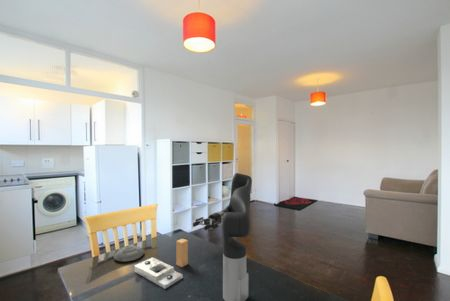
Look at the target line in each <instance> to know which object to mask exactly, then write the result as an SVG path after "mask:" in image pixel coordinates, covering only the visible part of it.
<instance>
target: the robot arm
mask: <svg viewBox="0 0 450 301" xmlns="http://www.w3.org/2000/svg"><path fill="white" fill-rule="evenodd" d="M252 183H253V180H252V177H251V176H250V175H247V174H243V173H239V172H237V173H236V172H235V173H234V175H233V176H232V181H231V185H230V187H231V188H230V199H229V203H228V205H227V206H225V208H224V209H223V210H220V211H217V212H213V213H211V214H209V216H208V217H205V218H204V216H201V217H198V218H196V219H195V221H193V223H192V227H194V228H195V227H197V226H204V228H203V230H204V231H208V230H209V229H210V230H211V229H213V230H216V229H217V228H219V227H220V226H221V227H222V230H221V231H222V299H223V300H224V301H246V300H247V299H248V298H249V272H247V247H246V245H245V244H244V243H242V242H240V241H239V240H237V239H235V238H247V237H248V236H249V235H250V232H251V214H250V213H251V212H250V209H251V198H252V197H251V190H252Z"/></svg>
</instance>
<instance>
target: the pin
mask: <svg viewBox="0 0 450 301" xmlns="http://www.w3.org/2000/svg"><path fill="white" fill-rule="evenodd" d="M188 241H189V240H188V239H184V238H180V239H178V240H176V242H175V243H176V244H175V246H176V247H175V248H176V251H175V254H176V256H175V262H176V263H175V264H176V266H178V267H180V268H184V267H185V266H187V265H188V264H189V263H188V262H189V256H188V255H189V254H188V253H189V249H188V248H189V246H188V245H189V244H188V243H189V242H188Z"/></svg>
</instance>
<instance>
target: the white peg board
mask: <svg viewBox="0 0 450 301" xmlns="http://www.w3.org/2000/svg"><path fill="white" fill-rule="evenodd" d="M174 267H175V266H172V265H170V264H168V263H165V262H163V261H162V260H160V259H157V258H155V257H153V256H152V257H150V258H147V259H146V260H144V261H140V262H139V263H137V264H134V273H136V274H138V275H139V276H141V277H143V278H145V279H147V280H148V281H150V282H152V283H153V284H155V285H157V286H159V287H160V288H163V289H164V290H166V289H167V288H169V287H171V286H172V285H173V284H175V283H177V282H179V281H180V280H182V279H183V277H184V276H183V273H181V272H178V271H176V270H175V269H174ZM158 271H159V272H158Z"/></svg>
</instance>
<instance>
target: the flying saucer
mask: <svg viewBox="0 0 450 301" xmlns="http://www.w3.org/2000/svg"><path fill="white" fill-rule="evenodd" d="M143 255H145V250H144V249H143V248H142V247H141V246H137V245H129V246H124V247H122V248H120V249H119V250H117V251H116V252H115V253H114V255H113V259H114V261H117V262H131V261H135V260H139V259H140V258H141V257H143Z"/></svg>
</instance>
